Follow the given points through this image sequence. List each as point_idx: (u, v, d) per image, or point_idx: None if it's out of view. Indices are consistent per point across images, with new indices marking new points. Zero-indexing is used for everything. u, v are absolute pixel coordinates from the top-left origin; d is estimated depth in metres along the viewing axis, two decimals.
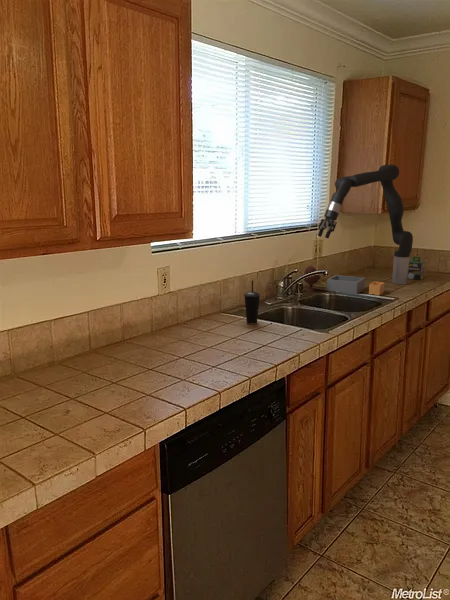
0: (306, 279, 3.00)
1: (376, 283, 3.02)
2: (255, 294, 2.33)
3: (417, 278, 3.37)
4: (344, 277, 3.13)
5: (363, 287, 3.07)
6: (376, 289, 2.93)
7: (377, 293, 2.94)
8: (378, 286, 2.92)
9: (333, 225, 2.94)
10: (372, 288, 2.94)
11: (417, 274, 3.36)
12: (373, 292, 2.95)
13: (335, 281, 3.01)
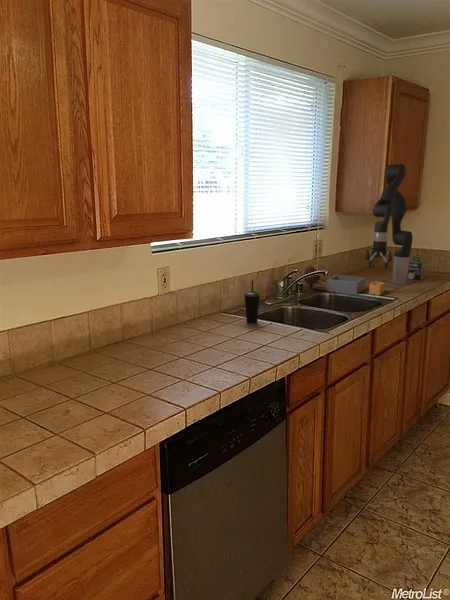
0: (306, 279, 3.00)
1: (376, 283, 3.02)
2: (255, 294, 2.33)
3: (417, 278, 3.37)
4: (344, 277, 3.13)
5: (363, 287, 3.07)
6: (376, 289, 2.93)
7: (377, 293, 2.94)
8: (378, 286, 2.92)
9: (391, 255, 2.90)
10: (372, 288, 2.94)
11: (417, 274, 3.36)
12: (373, 292, 2.95)
13: (335, 281, 3.01)
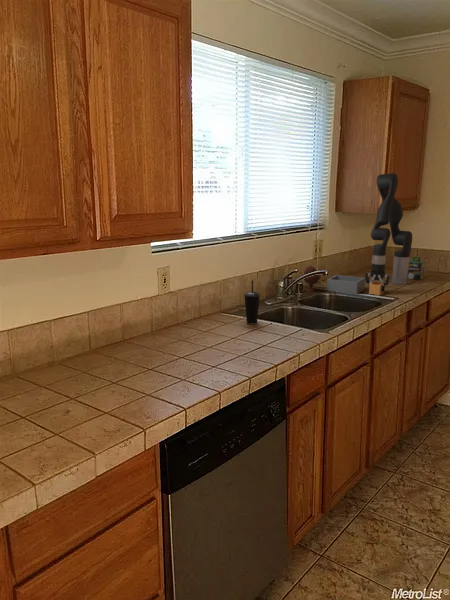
0: (306, 279, 3.00)
1: (376, 283, 3.02)
2: (255, 294, 2.33)
3: (417, 278, 3.37)
4: (344, 277, 3.13)
5: (363, 287, 3.07)
6: (376, 289, 2.93)
7: (377, 293, 2.93)
8: (378, 286, 2.92)
9: (388, 279, 2.93)
10: (372, 288, 2.94)
11: (417, 274, 3.36)
12: (373, 292, 2.95)
13: (335, 281, 3.01)
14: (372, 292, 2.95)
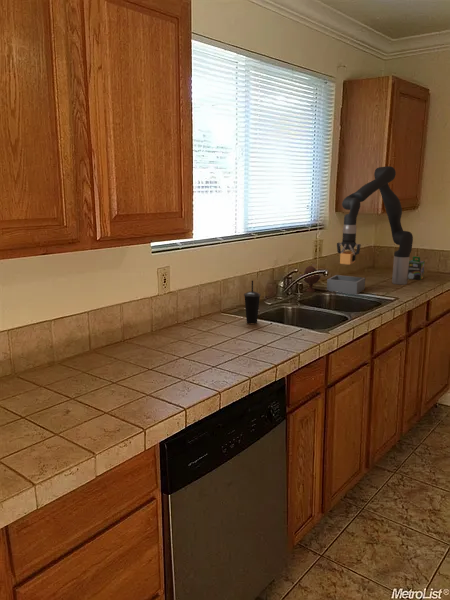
0: (306, 279, 3.00)
1: (348, 253, 3.06)
2: (255, 294, 2.33)
3: (417, 278, 3.37)
4: (344, 277, 3.13)
5: (363, 287, 3.07)
6: (347, 258, 2.97)
7: (348, 262, 2.97)
8: (349, 255, 2.96)
9: (359, 248, 2.97)
10: (343, 257, 2.98)
11: (417, 274, 3.36)
12: (344, 261, 2.98)
13: (335, 281, 3.01)
14: (343, 261, 2.99)
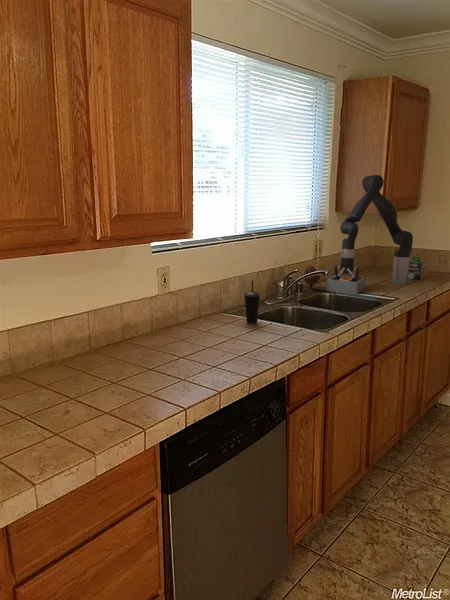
0: (306, 279, 3.00)
1: (346, 278, 3.10)
2: (255, 294, 2.33)
3: (417, 278, 3.37)
4: None
5: (363, 287, 3.07)
6: None
7: None
8: None
9: (358, 271, 3.01)
10: None
11: (417, 274, 3.36)
12: None
13: (335, 281, 3.01)
14: None
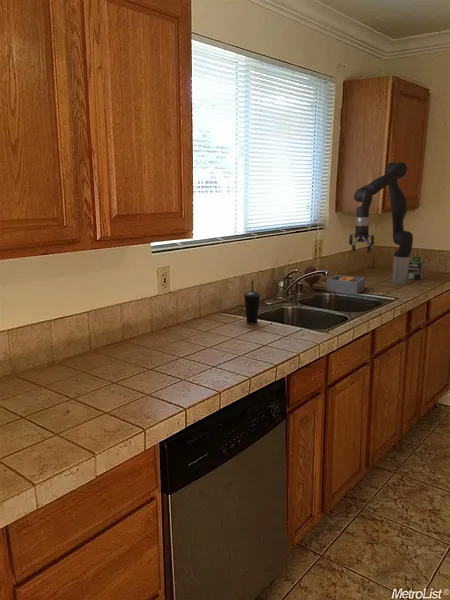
0: (306, 279, 3.00)
1: (346, 278, 3.10)
2: (255, 294, 2.33)
3: (417, 278, 3.37)
4: None
5: (363, 287, 3.07)
6: None
7: None
8: None
9: (373, 239, 2.98)
10: None
11: (417, 274, 3.36)
12: None
13: (335, 281, 3.01)
14: None
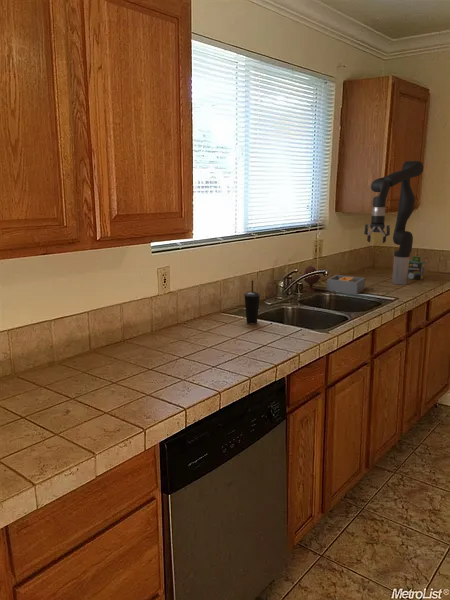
0: (306, 279, 3.00)
1: (346, 278, 3.10)
2: (255, 294, 2.33)
3: (417, 278, 3.37)
4: None
5: (363, 287, 3.07)
6: None
7: None
8: None
9: (389, 229, 2.98)
10: None
11: (417, 274, 3.36)
12: None
13: (335, 281, 3.01)
14: None
